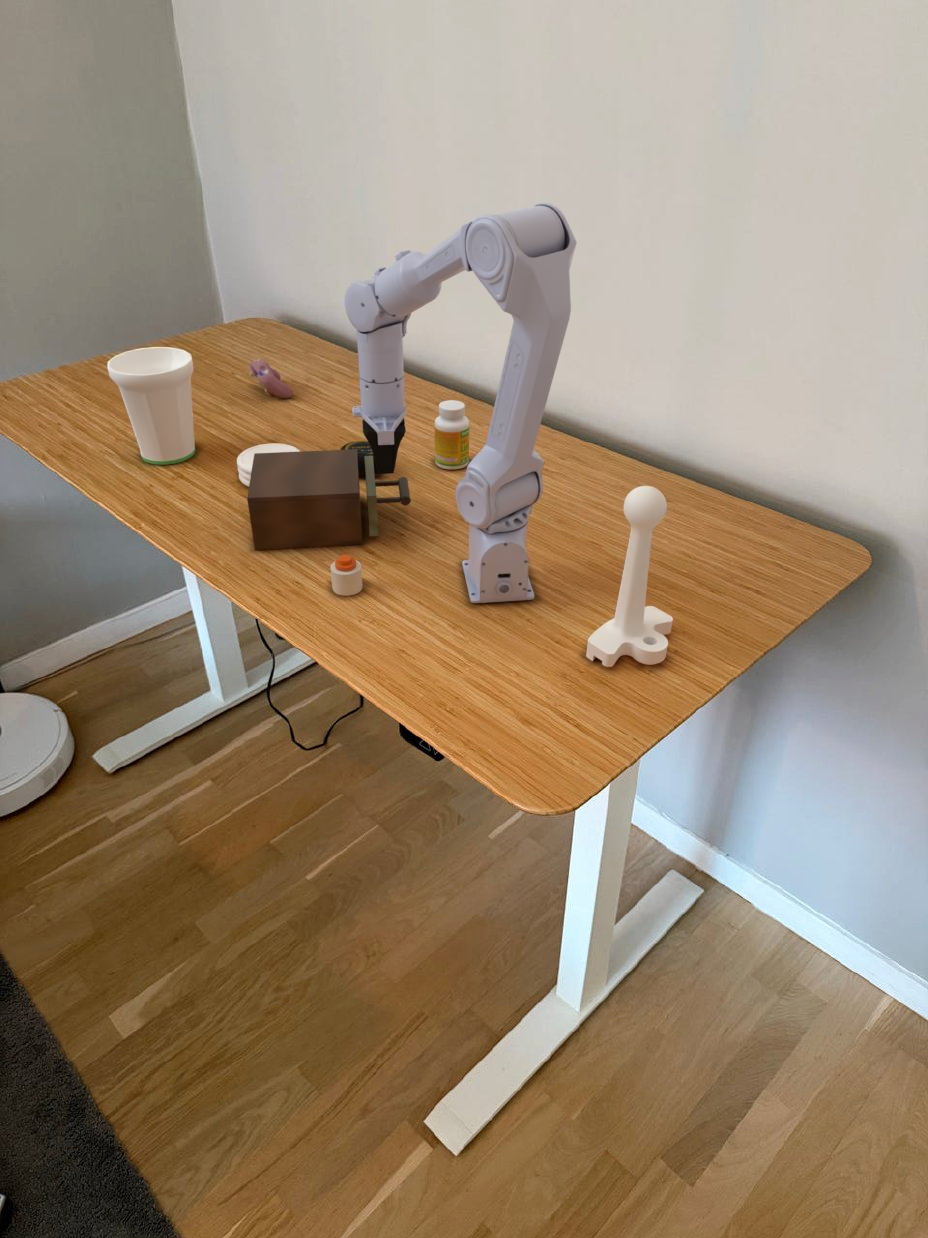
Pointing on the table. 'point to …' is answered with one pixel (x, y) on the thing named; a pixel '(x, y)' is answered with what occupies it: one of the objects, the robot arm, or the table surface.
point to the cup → (157, 401)
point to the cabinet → (305, 499)
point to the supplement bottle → (451, 436)
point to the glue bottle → (346, 576)
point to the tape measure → (361, 454)
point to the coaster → (248, 455)
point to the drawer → (373, 501)
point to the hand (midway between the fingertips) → (385, 471)
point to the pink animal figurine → (270, 379)
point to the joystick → (635, 592)
